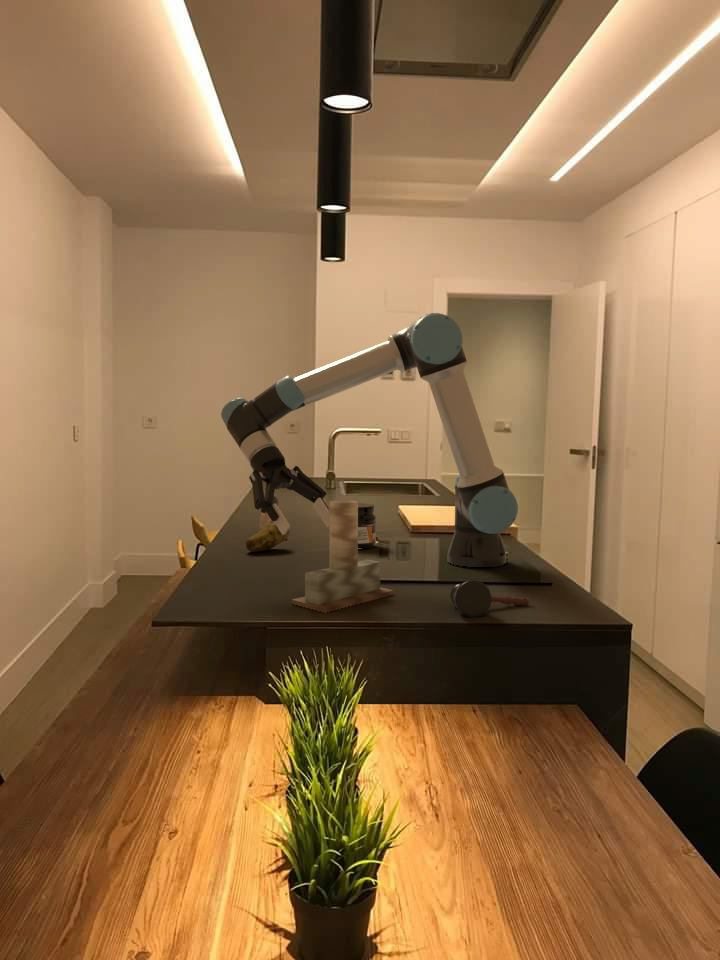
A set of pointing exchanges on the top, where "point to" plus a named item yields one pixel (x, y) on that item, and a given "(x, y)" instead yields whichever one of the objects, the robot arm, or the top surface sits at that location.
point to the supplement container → (366, 525)
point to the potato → (266, 538)
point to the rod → (343, 534)
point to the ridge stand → (342, 587)
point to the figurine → (267, 516)
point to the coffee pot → (478, 598)
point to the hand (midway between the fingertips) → (309, 527)
